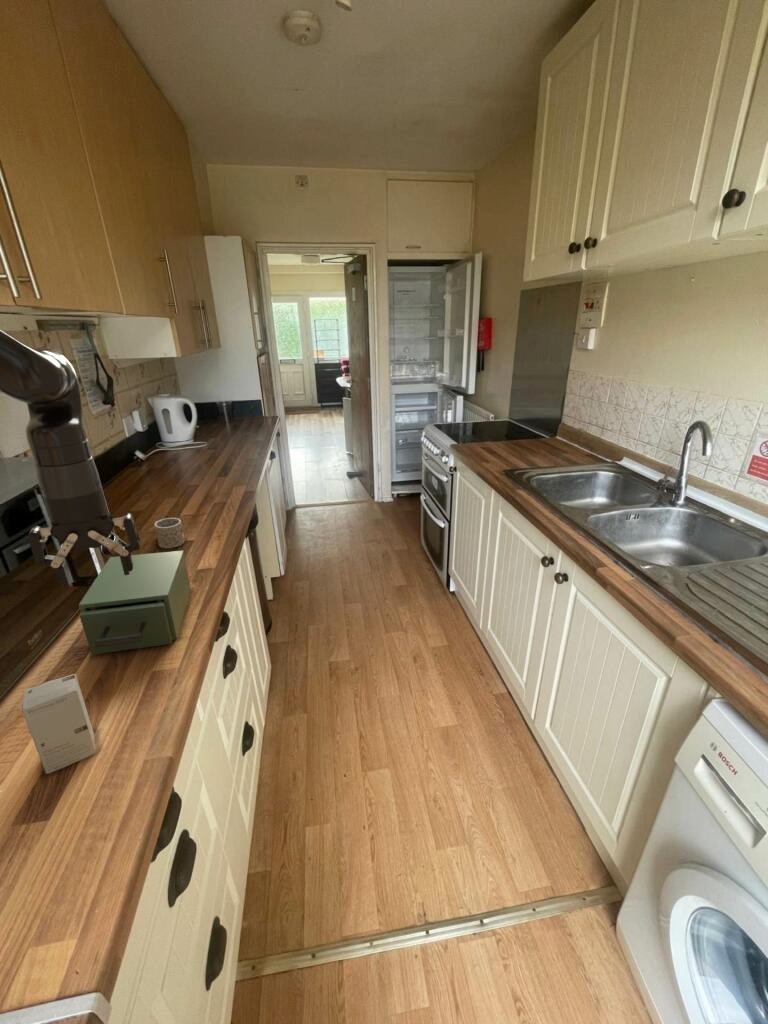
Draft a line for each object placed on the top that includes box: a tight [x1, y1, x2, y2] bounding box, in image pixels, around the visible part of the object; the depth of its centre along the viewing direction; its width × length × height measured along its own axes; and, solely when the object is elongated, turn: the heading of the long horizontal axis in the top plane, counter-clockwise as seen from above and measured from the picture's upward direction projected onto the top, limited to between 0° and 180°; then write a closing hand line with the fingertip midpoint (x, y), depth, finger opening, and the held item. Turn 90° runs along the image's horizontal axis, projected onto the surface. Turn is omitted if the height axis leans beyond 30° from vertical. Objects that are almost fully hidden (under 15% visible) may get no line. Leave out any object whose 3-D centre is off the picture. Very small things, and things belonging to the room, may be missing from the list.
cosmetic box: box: [21, 673, 96, 775], centre depth 60 cm, size 6×4×12 cm
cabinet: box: [78, 550, 192, 641], centre depth 89 cm, size 18×15×11 cm
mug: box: [154, 517, 186, 549], centre depth 121 cm, size 10×7×7 cm, turn 57°
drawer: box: [79, 599, 173, 656], centre depth 84 cm, size 22×14×9 cm, turn 14°
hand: (98, 578), depth 72 cm, fingers open, 8 cm apart
